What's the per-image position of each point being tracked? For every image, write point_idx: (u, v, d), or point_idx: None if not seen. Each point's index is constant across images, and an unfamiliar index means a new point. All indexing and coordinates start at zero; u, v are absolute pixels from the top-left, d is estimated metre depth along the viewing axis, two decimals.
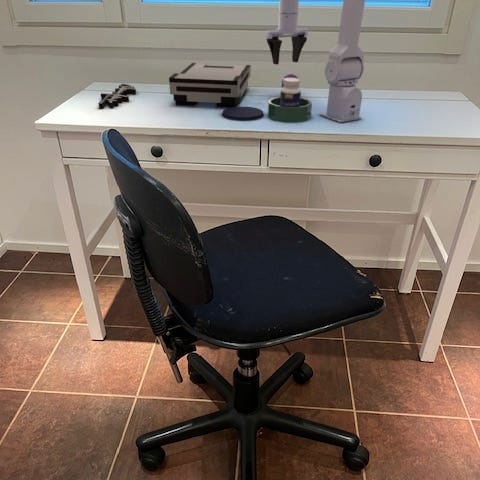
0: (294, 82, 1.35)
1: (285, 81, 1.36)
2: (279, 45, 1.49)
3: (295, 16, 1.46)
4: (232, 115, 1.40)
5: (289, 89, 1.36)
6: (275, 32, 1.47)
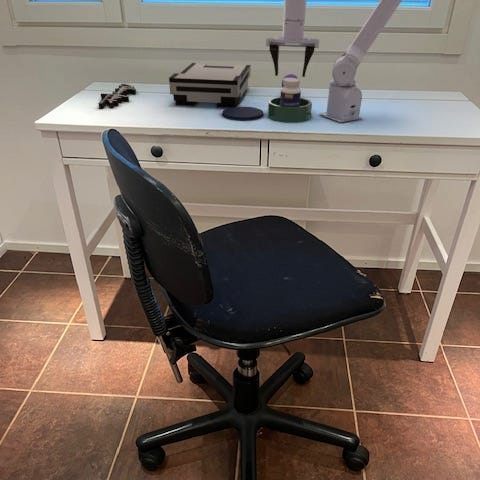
0: (294, 82, 1.35)
1: (285, 81, 1.36)
2: (275, 54, 1.34)
3: (296, 24, 1.28)
4: (232, 115, 1.40)
5: (289, 89, 1.36)
6: (272, 40, 1.33)
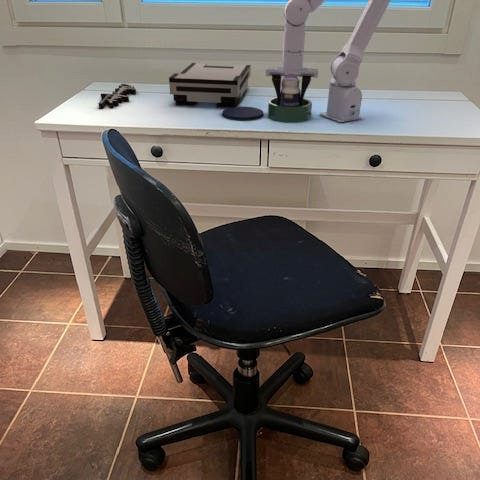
0: (294, 82, 1.35)
1: (285, 81, 1.36)
2: (278, 84, 1.36)
3: (295, 55, 1.30)
4: (232, 115, 1.40)
5: (289, 89, 1.36)
6: (272, 70, 1.35)
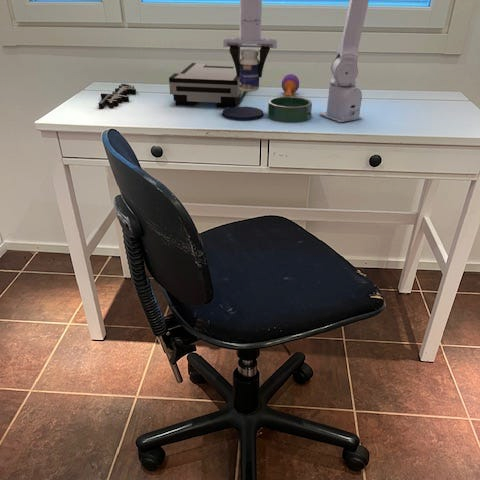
0: (252, 53, 1.31)
1: (243, 52, 1.32)
2: (236, 55, 1.32)
3: (252, 24, 1.27)
4: (232, 115, 1.40)
5: (247, 60, 1.33)
6: (230, 40, 1.31)
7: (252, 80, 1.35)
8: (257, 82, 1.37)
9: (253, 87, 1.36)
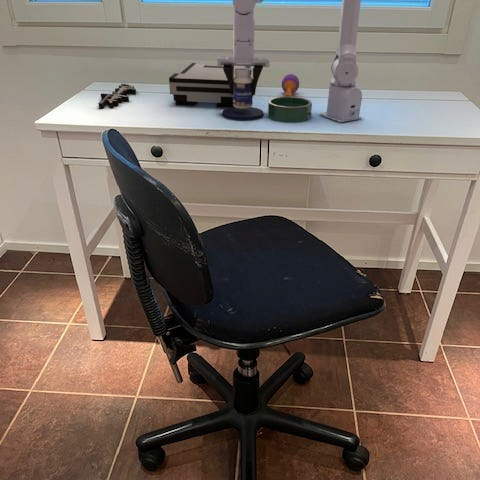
0: (245, 72, 1.34)
1: (236, 71, 1.35)
2: (229, 74, 1.35)
3: (245, 44, 1.30)
4: (232, 115, 1.40)
5: (241, 78, 1.36)
6: (223, 59, 1.34)
7: (245, 98, 1.38)
8: (250, 100, 1.39)
9: (247, 104, 1.39)
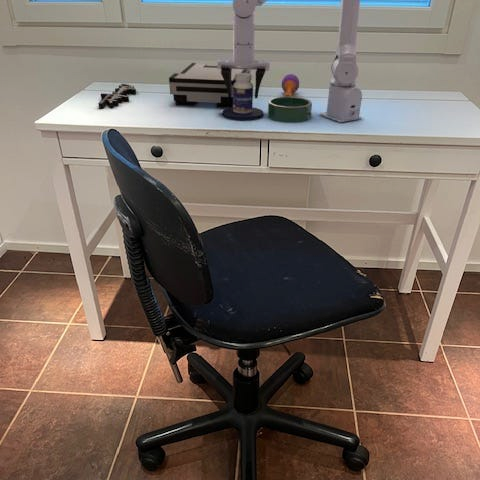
0: (245, 77, 1.35)
1: (236, 76, 1.36)
2: (227, 77, 1.36)
3: (245, 48, 1.30)
4: (232, 115, 1.40)
5: (241, 84, 1.36)
6: (223, 63, 1.34)
7: (245, 103, 1.39)
8: (250, 105, 1.40)
9: (246, 110, 1.40)
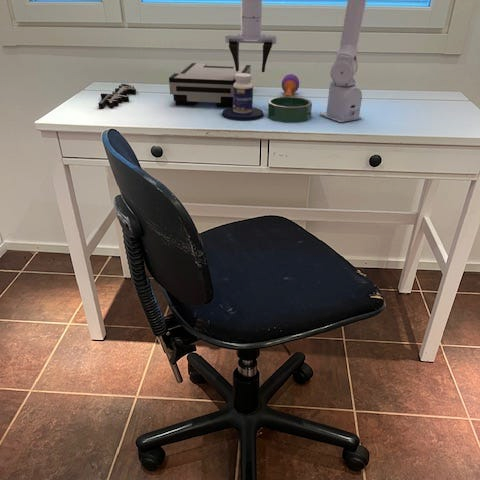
0: (245, 77, 1.35)
1: (236, 76, 1.36)
2: (235, 51, 1.38)
3: (252, 21, 1.33)
4: (232, 115, 1.40)
5: (241, 84, 1.36)
6: (231, 36, 1.37)
7: (245, 103, 1.39)
8: (250, 105, 1.40)
9: (246, 110, 1.40)
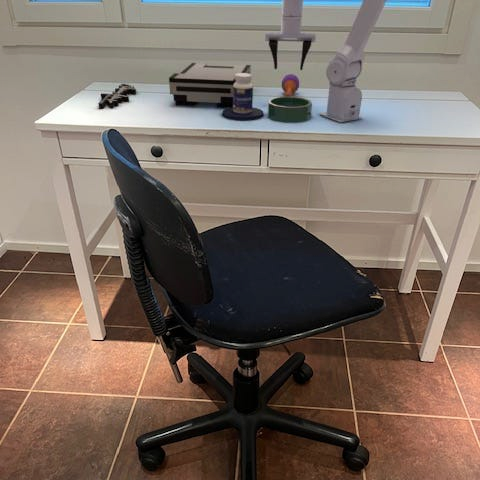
0: (245, 77, 1.35)
1: (236, 76, 1.36)
2: (274, 49, 1.41)
3: (293, 19, 1.36)
4: (232, 115, 1.40)
5: (241, 84, 1.36)
6: (271, 35, 1.40)
7: (245, 103, 1.39)
8: (250, 105, 1.40)
9: (246, 110, 1.40)
